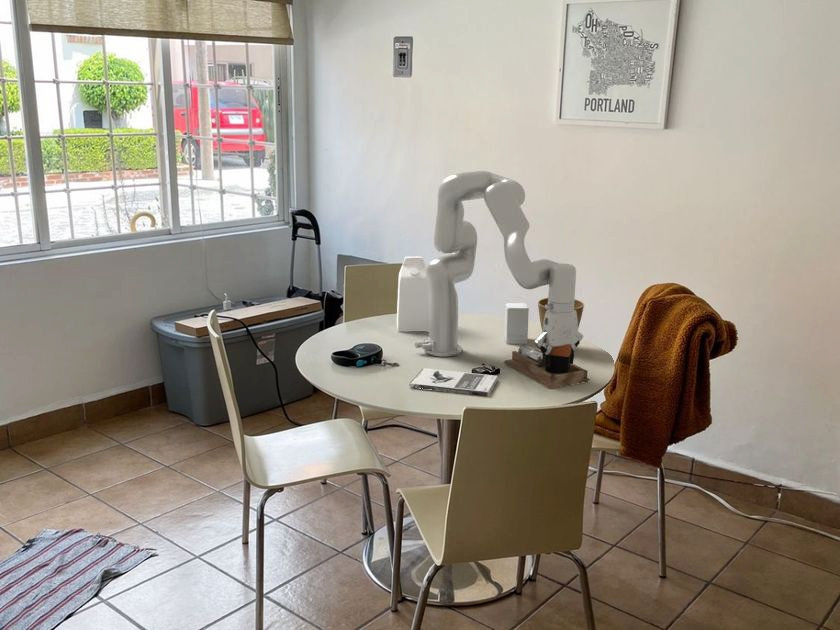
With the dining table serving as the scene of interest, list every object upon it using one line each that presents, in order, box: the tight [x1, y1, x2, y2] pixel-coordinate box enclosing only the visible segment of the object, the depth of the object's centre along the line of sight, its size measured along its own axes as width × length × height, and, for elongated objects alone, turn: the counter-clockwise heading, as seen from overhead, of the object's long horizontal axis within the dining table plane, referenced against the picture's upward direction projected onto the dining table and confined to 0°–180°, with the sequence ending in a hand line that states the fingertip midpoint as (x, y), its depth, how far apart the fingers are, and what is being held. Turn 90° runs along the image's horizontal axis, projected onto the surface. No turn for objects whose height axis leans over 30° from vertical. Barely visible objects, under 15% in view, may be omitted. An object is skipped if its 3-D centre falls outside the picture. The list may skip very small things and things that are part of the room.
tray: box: [503, 347, 590, 390], centre depth 238 cm, size 14×25×4 cm, turn 25°
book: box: [408, 368, 498, 397], centre depth 228 cm, size 23×14×2 cm, turn 73°
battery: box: [545, 344, 571, 374], centre depth 231 cm, size 4×7×10 cm, turn 69°
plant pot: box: [537, 297, 585, 330], centre depth 258 cm, size 15×15×16 cm
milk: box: [396, 256, 429, 332], centre depth 282 cm, size 12×12×26 cm
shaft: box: [517, 344, 543, 366], centre depth 244 cm, size 4×10×4 cm, turn 25°
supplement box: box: [503, 302, 529, 345], centre depth 268 cm, size 7×7×13 cm
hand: (557, 363), depth 231 cm, fingers closed on battery, 7 cm apart
